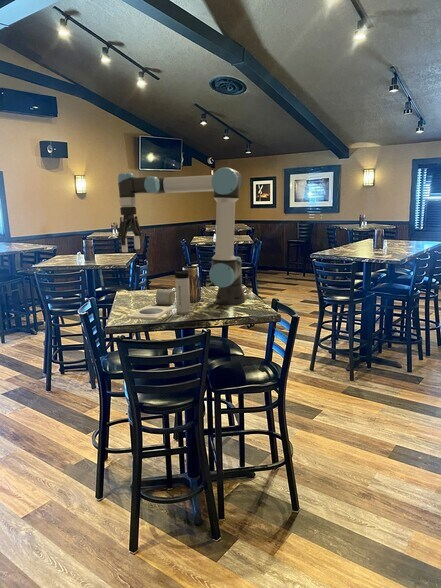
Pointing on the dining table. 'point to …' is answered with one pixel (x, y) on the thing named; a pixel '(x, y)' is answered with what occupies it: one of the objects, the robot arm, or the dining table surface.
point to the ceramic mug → (165, 297)
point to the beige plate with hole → (150, 312)
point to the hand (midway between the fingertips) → (131, 250)
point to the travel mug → (182, 292)
